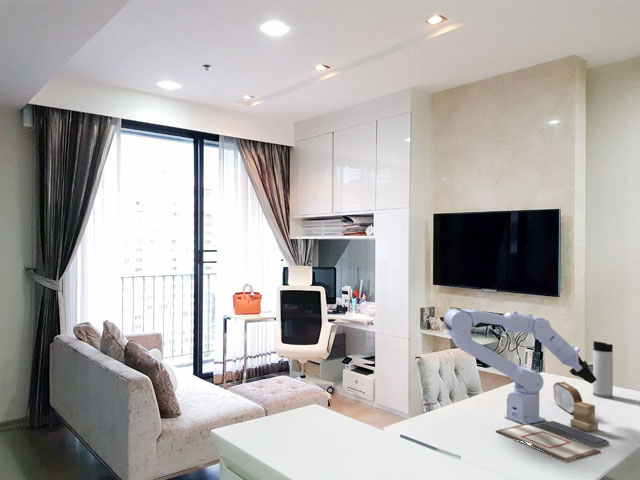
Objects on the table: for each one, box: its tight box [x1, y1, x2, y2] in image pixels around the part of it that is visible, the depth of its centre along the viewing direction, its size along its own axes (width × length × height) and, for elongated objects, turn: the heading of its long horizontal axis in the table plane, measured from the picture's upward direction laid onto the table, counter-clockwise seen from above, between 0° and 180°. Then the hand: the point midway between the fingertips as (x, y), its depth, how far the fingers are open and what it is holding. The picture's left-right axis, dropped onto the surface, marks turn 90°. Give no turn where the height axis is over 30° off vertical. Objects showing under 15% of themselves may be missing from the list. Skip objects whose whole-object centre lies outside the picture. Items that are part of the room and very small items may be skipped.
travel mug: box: [592, 340, 614, 399], centre depth 176 cm, size 6×7×20 cm
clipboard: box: [495, 424, 602, 462], centre depth 131 cm, size 14×22×1 cm, turn 28°
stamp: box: [570, 401, 599, 433], centre depth 142 cm, size 5×5×7 cm
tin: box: [553, 381, 583, 415], centre depth 159 cm, size 15×3×8 cm, turn 179°
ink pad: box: [539, 420, 610, 449], centre depth 136 cm, size 6×17×1 cm, turn 28°
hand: (589, 375), depth 150 cm, fingers open, 7 cm apart
